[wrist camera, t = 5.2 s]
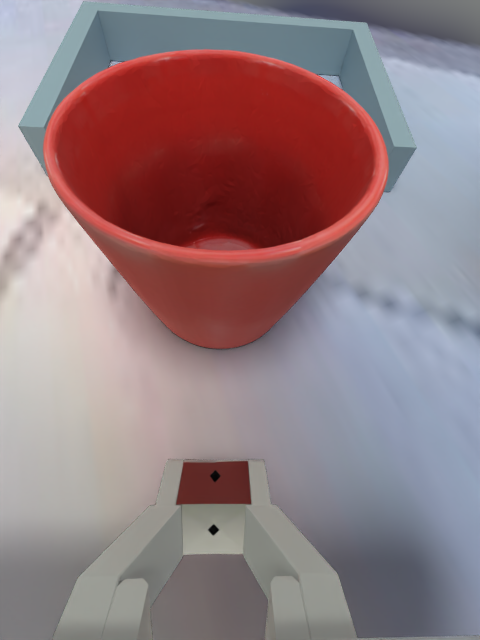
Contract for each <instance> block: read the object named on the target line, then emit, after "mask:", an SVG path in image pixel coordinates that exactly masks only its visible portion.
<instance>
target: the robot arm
mask: <svg viewBox="0 0 480 640" xmlns="http://www.w3.org/2000/svg"><path fill="white" fill-rule="evenodd" d="M196 554H243V556H244V558H245V560H246V562H247V564H248V565H249V567H250V569H251V571H252V572H253V574H254V576H255V578H256V580H257V581H258V583H259V585H260V587H261V589H262V590H263V592H264V594H265V596H266V597H267V599H268V611H267V620H266V630H265V639H264V640H480V635H467V636H429V637H391V638H357V635H356V631H355V628H354V625H353V622H352V618H351V615H350V612H349V609H348V605H347V602H346V599H345V596H344V592H343V589H342V586H341V583H340V580H339V576H338V574H337V573H336V571H335V570H334V569H333V568H332V567H331V566H330V565H329V564H328V562H327V561H326V560H325V559H324V558H323V557H322V556H321V555H320V553H319V552H318V551H317V550H316V549H315V548H314V547H313V546H312V544H311V543H310V542H309V541H308V540H307V539H306V538H305V536H304V535H303V534H302V533H301V532H300V531H299V530H298V529H297V527H296V526H295V525H294V524H293V523H292V522H291V521H290V520H289V518H288V517H287V516H286V515H285V514H284V513H283V512H282V511H281V509H280V508H279V507H278V506H277V505H271V499H270V492H269V486H268V479H267V473H266V466H265V461H264V460H263V459H248V460H196V459H185V460H181V459H168V460H167V462H166V465H165V469H164V473H163V477H162V481H161V485H160V489H159V493H158V496H157V500H156V504H155V505H150V506H149V507H148V508H147V509H146V510H145V511H144V512H143V513H142V514H141V515H140V516H139V517H138V518H137V519H136V520H135V521H134V522H133V523H132V524H131V525H130V526H129V527H128V528H127V529H126V530H125V531H124V532H123V533H122V534H121V535H120V536H119V537H118V538H117V539H116V540H115V541H114V542H113V543H112V544H111V545H110V546H109V547H108V548H107V549H106V550H105V551H104V552H103V553H102V554H101V555H100V556H99V557H98V558H97V559H96V560H95V561H94V562H93V563H92V564H91V565H90V566H89V567H88V568H87V569H86V570H85V571H84V572H83V573H82V574H81V575H80V576H79V577H78V578H77V581H76V583H75V585H74V588H73V590H72V593H71V595H70V597H69V600H68V602H67V604H66V607H65V609H64V611H63V614H62V616H61V619H60V621H59V623H58V626H57V628H56V630H55V633H54V635H53V638H52V640H153V636H152V624H151V611H150V607H151V606H152V604H153V603H154V601H155V600H156V598H157V596H158V595H159V593H160V592H161V590H162V589H163V587H164V586H165V584H166V582H167V581H168V579H169V578H170V576H171V575H172V573H173V572H174V570H175V569H176V567H177V565H178V564H179V562H180V561H181V559H182V558H183V555H196Z"/></svg>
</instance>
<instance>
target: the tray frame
mask: <svg viewBox="0 0 480 640" xmlns="http://www.w3.org/2000/svg"><path fill="white" fill-rule="evenodd" d="M204 49H209V50H232V51H240V52H246V53H252V54H257V55H261V56H265V57H270V58H274V59H278V60H281V61H284V62H287V63H290V64H293V65H296V66H298V67H301V68H303V69H306V70H308V71H310V72H312V73H314V74H323V75H338V76H340V80H341V84H342V87H343V91H345V92H346V93H347V94H348V95H350V96H351V97H352V98H353V99H354V100H355V101H356V102H357V103H358V104H359V105H360V106H361V107H363V109H364V110H365V111H366V112H367V113H368V114H369V115H370V117H371V118H372V119H373V121H374V122H375V124H376V126H377V127H378V129H379V131H380V133H381V135H382V137H383V140H384V142H385V145H386V149H387V155H388V161H389V171H388V179H387V183H386V187H385V189H384V192H390V191H391V189H392V188H393V186H394V184H395V183H396V181H397V179H398V178H399V176H400V174H401V173H402V171H403V169H404V168H405V166H406V164H407V163H408V161H409V160H410V158H411V156H412V155H413V153H414V151H415V150H416V148H417V147H416V145H415V142H414V140H413V137H412V135H411V132H410V130H409V127H408V125H407V122H406V120H405V117H404V115H403V112H402V110H401V107H400V105H399V102H398V100H397V98H396V95H395V93H394V90H393V88H392V85H391V83H390V80H389V78H388V75H387V73H386V70H385V68H384V65H383V63H382V60H381V58H380V55H379V53H378V50H377V48H376V45H375V43H374V40H373V38H372V35H371V33H370V30H369V28H368V25H367V23H361V22H348V21H335V20H322V19H308V18H295V17H282V16H269V15H256V14H242V13H229V12H216V11H203V10H190V9H176V8H163V7H150V6H137V5H124V4H110V3H97V2H84V1H83V3H82V5H81V7H80V9H79V10H78V12H77V14H76V16H75V18H74V20H73V22H72V24H71V26H70V28H69V30H68V32H67V33H66V35H65V37H64V39H63V41H62V43H61V45H60V47H59V49H58V51H57V53H56V54H55V56H54V58H53V60H52V62H51V64H50V66H49V68H48V70H47V72H46V74H45V76H44V77H43V79H42V81H41V83H40V85H39V87H38V89H37V91H36V93H35V95H34V97H33V99H32V100H31V102H30V104H29V106H28V108H27V110H26V112H25V114H24V116H23V118H22V120H21V122H20V123H19V125H18V127H19V128H20V130H21V132H22V133H23V135H24V137H25V139H26V140H27V142H28V144H29V145H30V147H31V149H32V151H33V152H34V154H35V156H36V157H37V159H38V161H39V163H40V164H41V166H42V168H43V169H44V171H45V173H46V175H47V176H48V174H47V171H46V167H45V162H44V156H43V143H44V136H45V133H46V129H47V126H48V123H49V121H50V119H51V117H52V115H53V113H54V111H55V110H56V108H57V106H58V105H59V104H60V103H61V102H62V100H63V99H64V98H65V97H66V96H67V95H68V94H69V93H70V92H72V91H73V90H74V89H75V88H76V87H78V86H79V85H80V84H81V83H83V82H84V81H86V80H87V79H88V78H90V77H92V76H93V75H95V74H97V73H98V72H101V71H103V70H105V69H107V68H108V67H109V64H110V61H111V60H112V61H129V60H133V59H136V58H139V57H143V56H148V55H153V54H159V53H165V52H173V51H182V50H204Z"/></svg>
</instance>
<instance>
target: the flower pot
mask: <svg viewBox="0 0 480 640" xmlns="http://www.w3.org/2000/svg"><path fill="white" fill-rule="evenodd" d="M43 156H44V162H45V167H46V171H47V174H48V177H49V179H50V182H51V184H52V186H53V188H54V190H55V191H56V193H57V195H58V196H59V198H60V199H61V201H62V202H63V203H64V205H65V206H66V207H67V209H68V210H69V211H70V213H71V214H72V215H73V216H74V218H75V219H76V220H77V222H78V223H79V224H80V225H81V227H82V228H83V229H84V230H85V231H86V233H87V234H88V235H89V236H90V238H91V239H92V240H93V241H94V242H95V244H96V245H97V246H98V247H99V249H100V250H101V251H102V252H103V253H104V255H105V256H106V257H107V258H108V259H109V261H110V262H111V263H112V264H113V266H114V267H115V268H116V269H117V270H118V272H119V273H120V274H121V275H122V276H123V278H124V279H125V280H126V281H127V282H128V284H129V285H130V286H131V287H132V289H133V290H134V291H135V292H136V293H137V295H138V296H139V297H140V298H141V299H142V300H143V301H144V303H145V304H146V305H147V306H148V307H149V308H150V309H151V310H152V312H153V313H154V314H155V315H156V316H157V317H158V318H159V319H160V320H161V321H162V322H163V323H164V324H165V325H166V326H167V327H168V328H169V329H170V330H171V331H172V332H173V333H175V334H176V335H177V336H179V337H180V338H182V339H184V340H186V341H188V342H190V343H192V344H195V345H198V346H202V347H207V348H216V349H227V348H235V347H239V346H242V345H246V344H248V343H251V342H253V341H255V340H256V339H258V338H260V337H261V336H262V335H264V334H265V333H266V332H267V331H269V330H270V329H271V328H272V326H273V325H274V324H275V323H276V322H277V321H278V320H279V319H280V318H281V317H282V316H283V315H284V314H285V313H286V312H287V311H288V310H289V309H290V308H291V307H292V306H293V305H294V304H295V303H296V302H297V301H298V300H299V299H300V297H301V296H302V295H303V294H304V293H305V292H306V291H307V290H308V289H309V288H310V286H311V285H312V284H313V283H314V282H315V281H316V280H317V278H318V277H319V276H320V275H321V274H322V273H323V272H324V270H325V269H326V268H327V267H328V266H329V265H330V264H331V262H332V261H333V260H334V259H335V258H336V257H337V255H338V254H339V253H340V252H341V251H342V249H343V248H344V247H345V246H346V245H347V243H348V242H349V241H350V240H351V239H352V237H353V236H354V235H355V234H356V233H357V231H358V230H359V229H360V227H361V226H362V225H363V224H364V222H365V221H366V220H367V218H368V217H369V216H370V214H371V213H372V212H373V210H374V209H375V207H376V206H377V204H378V203H379V201H380V199H381V196H382V194H383V192H384V189H385V187H386V183H387V179H388V171H389V161H388V155H387V149H386V145H385V142H384V140H383V137H382V135H381V133H380V131H379V129H378V127H377V126H376V124H375V122H374V121H373V119H372V118H371V117H370V115H369V114H368V113H367V112H366V111H365V110H364V109H363V107H361V106H360V105H359V104H358V103H357V102H356V101H355V100H354V99H353V98H352V97H351V96H350V95H348V94H347V93H346V92H345V91H343V90H342V89H340V88H339V87H337V86H336V85H334V84H333V83H331V82H329V81H327V80H326V79H324V78H322V77H320V76H318V75H316V74H314V73H312V72H310V71H308V70H306V69H303V68H301V67H298V66H296V65H293V64H290V63H287V62H284V61H281V60H278V59H274V58H270V57H265V56H261V55H257V54H252V53H246V52H240V51H232V50H209V49H204V50H182V51H173V52H165V53H159V54H153V55H148V56H143V57H139V58H136V59H133V60H129V61H125V62H122V63H119V64H117V65H114V66H111V67H109V68H107V69H105V70H103V71H101V72H98V73H97V74H95V75H93V76H92V77H90V78H88V79H87V80H86V81H84V82H83V83H81V84H80V85H79V86H78V87H76V88H75V89H74V90H73V91H72V92H70V93H69V94H68V95H67V96H66V97H65V98H64V99H63V100H62V102H61V103H60V104H59V105H58V106H57V108H56V110H55V111H54V113H53V115H52V117H51V119H50V121H49V123H48V126H47V129H46V133H45V136H44V143H43Z"/></svg>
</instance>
